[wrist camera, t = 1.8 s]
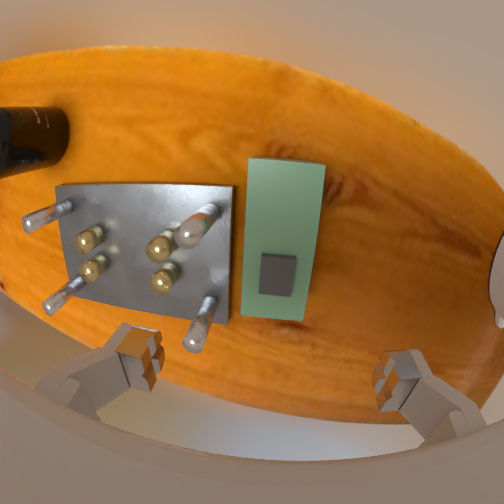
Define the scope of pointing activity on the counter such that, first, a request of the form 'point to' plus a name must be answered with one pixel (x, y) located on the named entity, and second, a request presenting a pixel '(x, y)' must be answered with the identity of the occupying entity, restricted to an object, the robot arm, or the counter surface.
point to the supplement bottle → (30, 138)
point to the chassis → (146, 249)
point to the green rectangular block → (280, 235)
